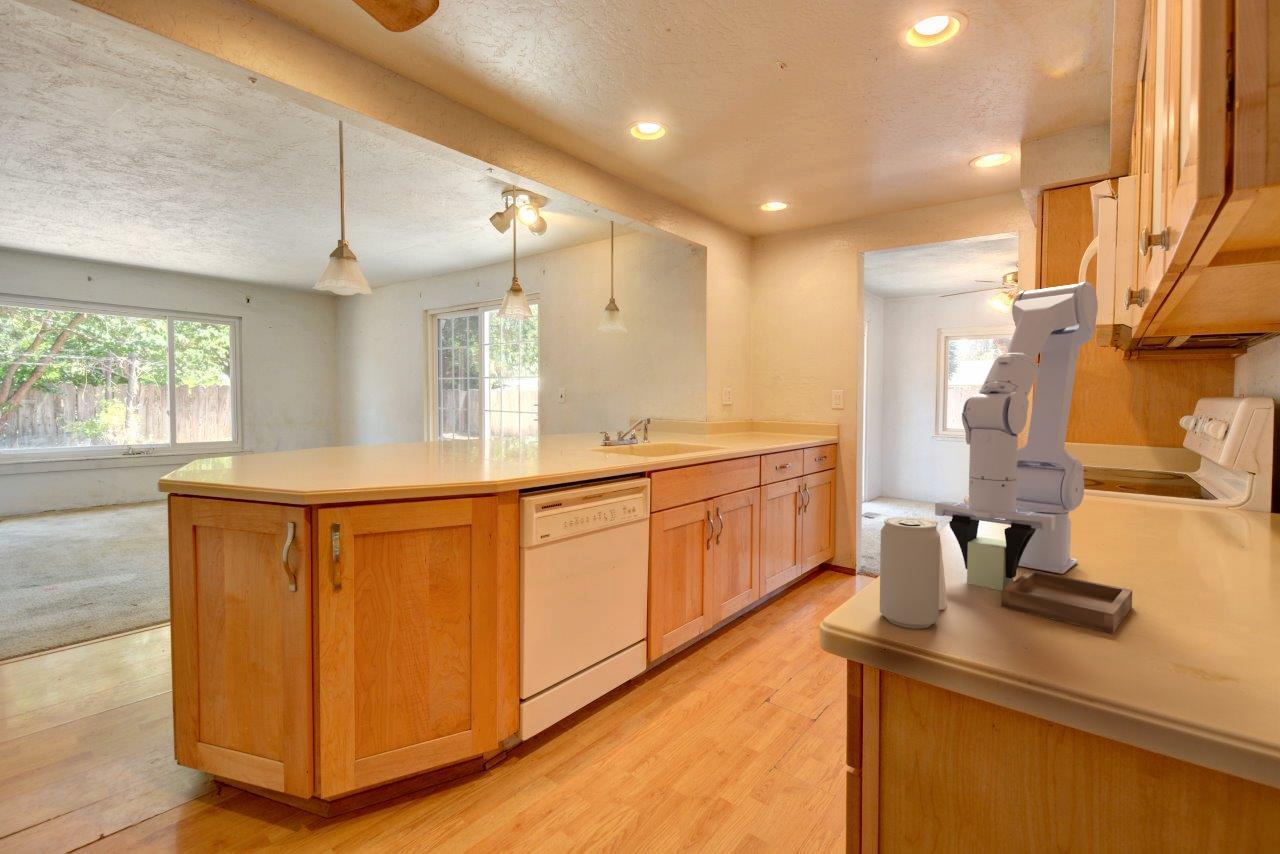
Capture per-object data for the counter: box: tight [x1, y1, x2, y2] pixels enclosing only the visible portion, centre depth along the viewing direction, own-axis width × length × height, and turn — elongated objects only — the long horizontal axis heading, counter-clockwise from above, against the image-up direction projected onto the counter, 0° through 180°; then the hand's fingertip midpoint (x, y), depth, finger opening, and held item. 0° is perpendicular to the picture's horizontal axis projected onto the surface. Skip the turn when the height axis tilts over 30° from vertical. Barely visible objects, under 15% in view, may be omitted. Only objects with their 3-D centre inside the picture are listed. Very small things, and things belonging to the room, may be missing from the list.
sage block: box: [966, 536, 1014, 592], centre depth 80 cm, size 4×4×6 cm
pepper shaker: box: [917, 517, 948, 611], centre depth 73 cm, size 5×5×11 cm
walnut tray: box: [1000, 570, 1133, 634], centre depth 71 cm, size 12×11×2 cm
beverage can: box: [879, 516, 941, 630], centre depth 67 cm, size 6×6×12 cm
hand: (990, 572), depth 80 cm, fingers closed on sage block, 4 cm apart
